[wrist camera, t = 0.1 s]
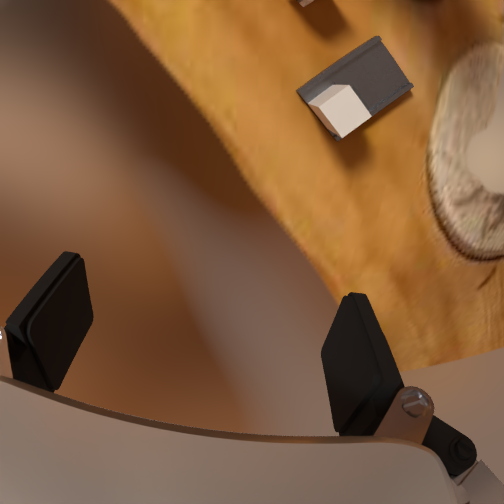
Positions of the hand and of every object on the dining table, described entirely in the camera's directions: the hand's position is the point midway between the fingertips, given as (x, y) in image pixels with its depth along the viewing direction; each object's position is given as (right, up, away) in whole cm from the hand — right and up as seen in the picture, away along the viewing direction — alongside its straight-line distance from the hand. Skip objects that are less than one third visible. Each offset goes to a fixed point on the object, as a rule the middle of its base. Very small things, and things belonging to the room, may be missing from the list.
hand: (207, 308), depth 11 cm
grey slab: (+14, +22, +23) cm, 35 cm away
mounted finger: (+11, +19, +23) cm, 32 cm away
